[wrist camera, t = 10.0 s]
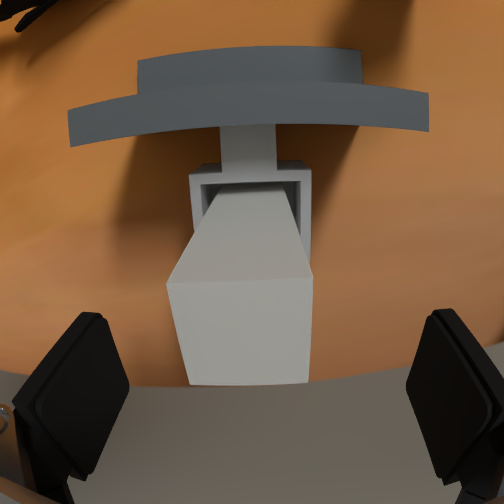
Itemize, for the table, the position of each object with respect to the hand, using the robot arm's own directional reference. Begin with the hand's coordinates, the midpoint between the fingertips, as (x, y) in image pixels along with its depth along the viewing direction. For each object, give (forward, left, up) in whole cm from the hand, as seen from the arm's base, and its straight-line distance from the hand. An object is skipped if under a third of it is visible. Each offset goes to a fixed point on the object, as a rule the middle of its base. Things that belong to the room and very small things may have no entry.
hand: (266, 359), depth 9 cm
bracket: (+1, -5, -20) cm, 20 cm away
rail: (+1, 0, -15) cm, 15 cm away
